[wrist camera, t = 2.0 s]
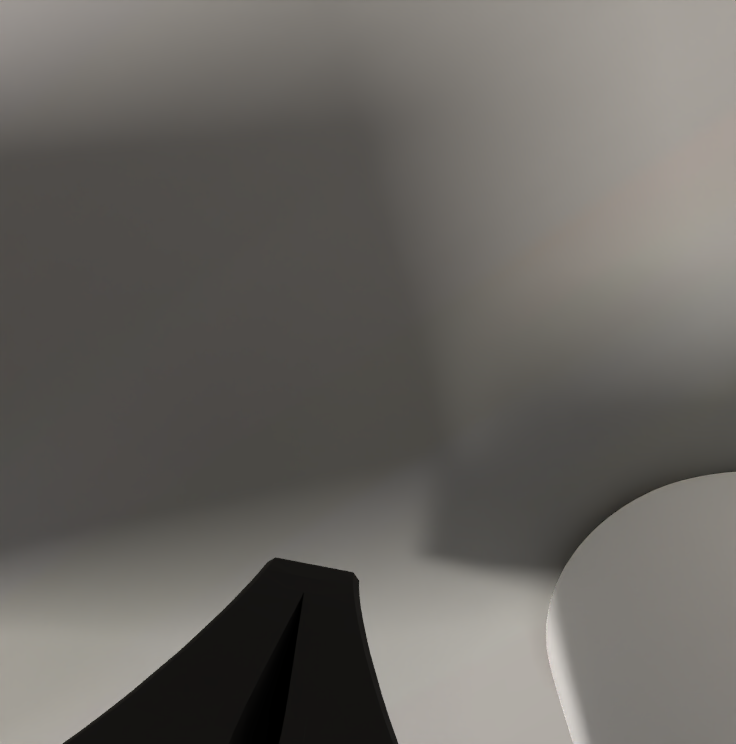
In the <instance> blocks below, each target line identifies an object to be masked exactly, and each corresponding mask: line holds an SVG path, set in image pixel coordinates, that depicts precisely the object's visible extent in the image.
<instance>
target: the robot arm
mask: <svg viewBox="0 0 736 744" xmlns="http://www.w3.org/2000/svg"><path fill="white" fill-rule="evenodd" d="M63 744H398V742H397V739H396V736H395V733H394V730H393V727H392V725H391V722H390V719H389V716H388V713H387V710H386V706H385V703H384V700H383V697H382V694H381V690H380V687H379V683H378V680H377V676H376V673H375V669H374V665H373V662H372V658H371V655H370V650H369V646H368V642H367V638H366V633H365V628H364V623H363V618H362V612H361V605H360V597H359V580H358V578H357V577H356V576H355V574H354V573H353V572H348V571H343V570H338V569H333V568H327V567H322V566H317V565H312V564H306V563H301V562H296V561H291V560H286V559H280V558H274V559H272V560H271V561H269V562H267V563H266V565H265V566H264V567H263V568H262V569H261V571H260V572H259V573H258V574H257V575H256V576H255V577H254V578H253V580H252V581H251V582H250V583H249V584H248V585H247V586H246V587H245V588H244V589H243V590H242V591H241V592H240V593H239V594H238V596H237V597H236V598H235V599H234V600H233V601H232V602H231V603H230V604H229V605H228V606H227V607H226V608H225V609H224V610H223V611H222V612H221V613H220V614H219V615H217V616H216V617H215V618H214V619H213V620H212V621H211V622H210V623H209V624H208V625H207V626H206V627H205V628H204V629H203V630H202V631H200V632H199V633H198V634H197V635H196V636H195V637H194V638H193V639H192V640H191V641H190V642H189V643H188V644H187V645H186V646H184V647H183V648H182V649H181V650H180V651H179V652H178V653H177V654H175V655H174V656H173V657H172V658H171V659H169V660H168V661H167V662H166V663H165V664H163V665H162V666H161V667H160V668H159V669H158V670H156V671H155V672H154V673H153V674H152V675H150V676H149V677H148V678H147V679H146V680H145V681H143V682H142V683H141V684H140V685H139V686H137V687H136V688H135V689H134V690H133V691H131V692H130V693H129V694H128V695H127V696H125V697H124V698H123V699H121V700H120V701H119V702H118V703H116V704H115V705H114V706H113V707H111V708H110V709H109V710H107V711H106V712H105V713H104V714H102V715H101V716H100V717H98V718H97V719H96V720H94V721H93V722H92V723H90V724H89V725H88V726H86V727H85V728H84V729H82V730H81V731H80V732H78V733H77V734H75V735H74V736H73V737H71V738H70V739H68V740H67V741H66V742H64V743H63Z"/></svg>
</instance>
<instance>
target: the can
mask: <svg viewBox="0 0 736 744" xmlns="http://www.w3.org/2000/svg"><path fill="white" fill-rule="evenodd" d="M546 645H547V653H548V658H549V663H550V667H551V672H552V675H553V679H554V682H555V686H556V689H557V692H558V696H559V699H560V703H561V706H562V709H563V712H564V715H565V719H566V722H567V725H568V728H569V732H570V735H571V738H572V741H573V744H736V472H726V473H718V474H711V475H705V476H699V477H695V478H690V479H686V480H682V481H678V482H675V483H672V484H668V485H666V486H663V487H660V488H658V489H656V490H653V491H651V492H649V493H647V494H645V495H643V496H641V497H639V498H637V499H635V500H633V501H632V502H630V503H628V504H627V505H625V506H624V507H622V508H621V509H619V510H618V511H616V512H615V513H613V514H612V515H611V516H610V517H608V518H607V519H606V520H604V521H603V522H602V523H601V524H600V525H599V526H598V527H597V528H596V529H594V530H593V531H592V532H591V533H590V534H589V535H588V537H587V538H586V539H585V540H584V541H583V542H582V543H581V544H580V546H579V547H578V548H577V549H576V551H575V552H574V553H573V555H572V556H571V558H570V559H569V561H568V562H567V564H566V566H565V567H564V569H563V571H562V573H561V575H560V577H559V579H558V581H557V584H556V586H555V589H554V591H553V594H552V598H551V601H550V605H549V610H548V615H547V623H546Z"/></svg>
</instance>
